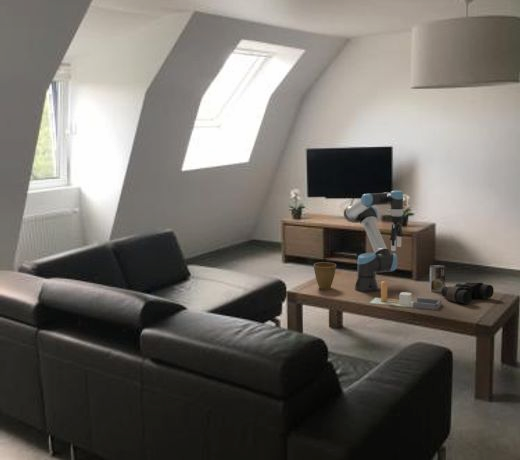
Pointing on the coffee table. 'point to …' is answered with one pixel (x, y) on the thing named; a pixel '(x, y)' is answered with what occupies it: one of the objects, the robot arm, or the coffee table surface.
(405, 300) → the pull block
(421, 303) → the lane rack
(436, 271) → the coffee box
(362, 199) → the robot arm
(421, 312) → the coffee table surface
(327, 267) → the plant pot
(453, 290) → the binoculars
